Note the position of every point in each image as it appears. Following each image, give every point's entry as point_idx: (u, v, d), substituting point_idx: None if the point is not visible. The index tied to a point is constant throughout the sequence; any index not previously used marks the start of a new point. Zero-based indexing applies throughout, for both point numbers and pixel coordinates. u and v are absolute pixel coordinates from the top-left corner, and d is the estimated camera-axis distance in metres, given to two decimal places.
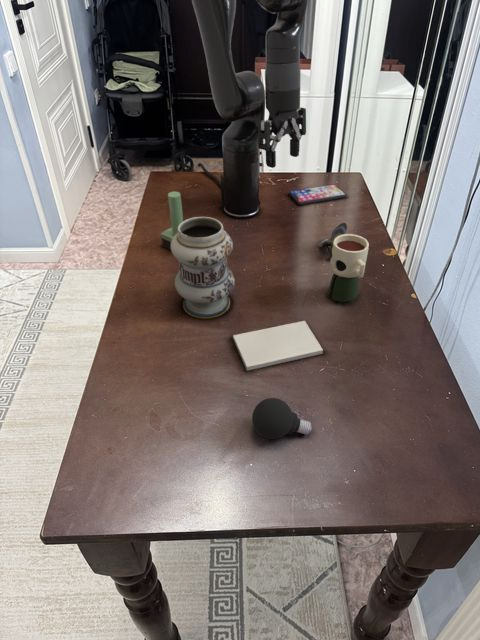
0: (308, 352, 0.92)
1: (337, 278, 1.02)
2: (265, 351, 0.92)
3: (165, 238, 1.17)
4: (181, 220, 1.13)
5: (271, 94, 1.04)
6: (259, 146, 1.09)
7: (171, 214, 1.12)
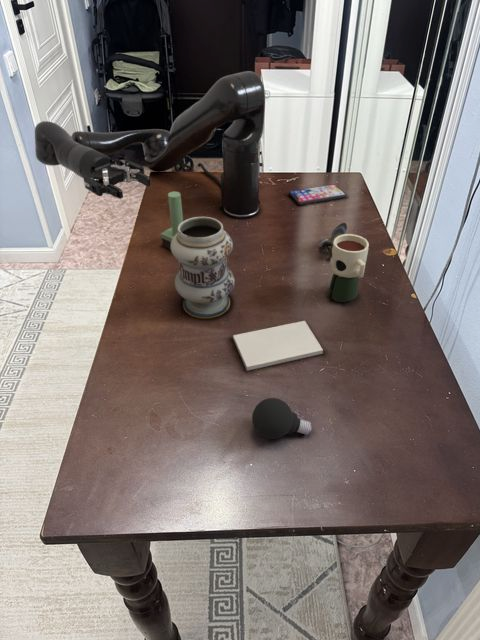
0: (308, 352, 0.92)
1: (337, 278, 1.02)
2: (265, 351, 0.92)
3: (165, 238, 1.17)
4: (181, 220, 1.13)
5: (81, 171, 1.20)
6: (97, 194, 1.15)
7: (171, 214, 1.12)
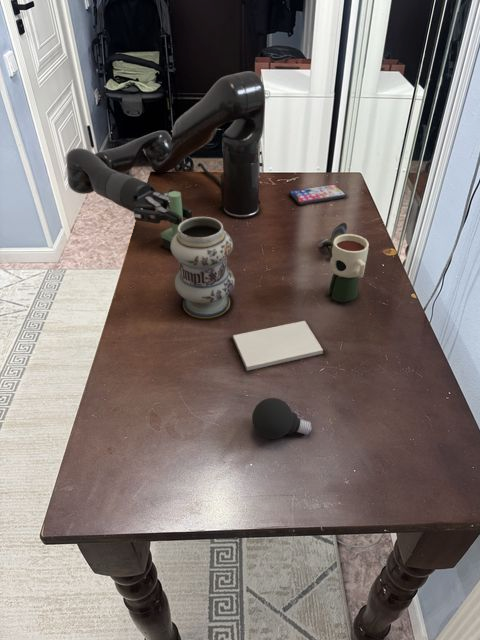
0: (308, 352, 0.92)
1: (337, 278, 1.02)
2: (265, 351, 0.92)
3: (165, 238, 1.17)
4: None
5: (122, 200, 1.16)
6: (156, 222, 1.12)
7: None
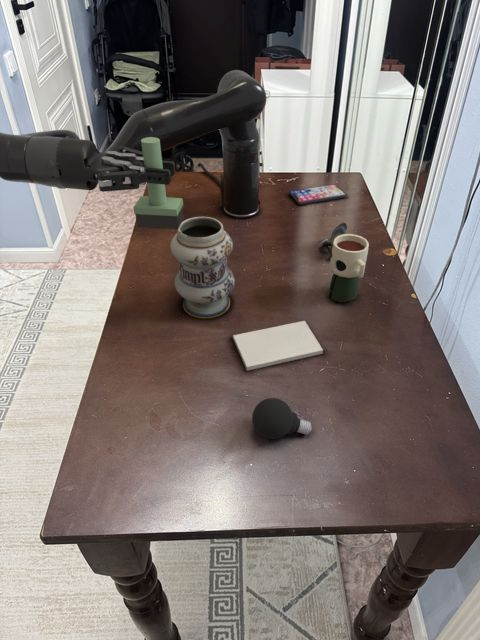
0: (308, 352, 0.92)
1: (337, 278, 1.02)
2: (265, 351, 0.92)
3: (142, 212, 0.81)
4: None
5: (62, 172, 0.75)
6: (135, 186, 0.76)
7: None
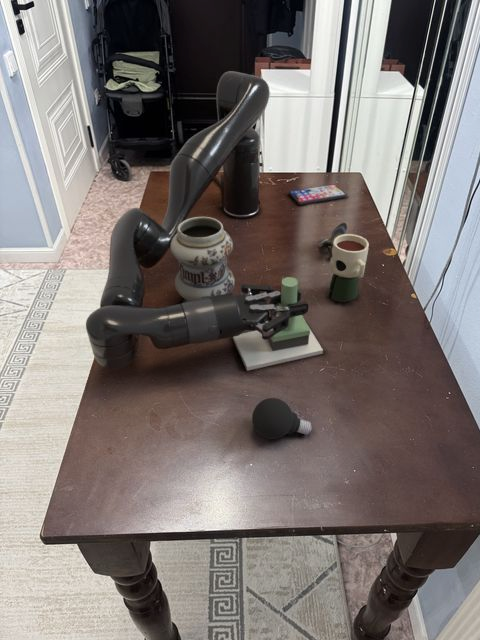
0: (308, 352, 0.92)
1: (337, 278, 1.02)
2: (265, 351, 0.92)
3: (280, 339, 0.90)
4: None
5: (222, 331, 0.82)
6: (287, 325, 0.85)
7: None
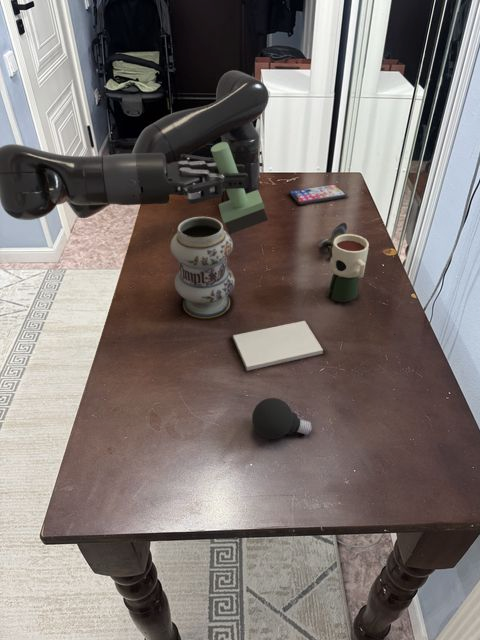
0: (308, 352, 0.92)
1: (337, 278, 1.02)
2: (265, 351, 0.92)
3: (231, 218, 0.82)
4: None
5: (144, 189, 0.74)
6: (220, 194, 0.76)
7: None
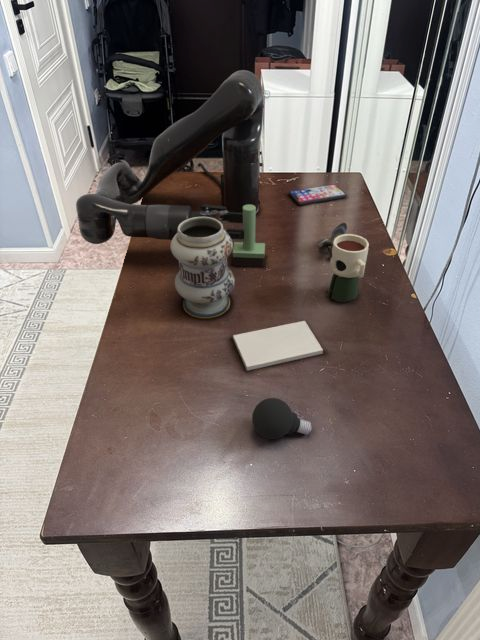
0: (308, 352, 0.92)
1: (337, 278, 1.02)
2: (265, 351, 0.92)
3: (239, 256, 1.12)
4: None
5: (172, 231, 1.06)
6: None
7: (248, 228, 1.08)
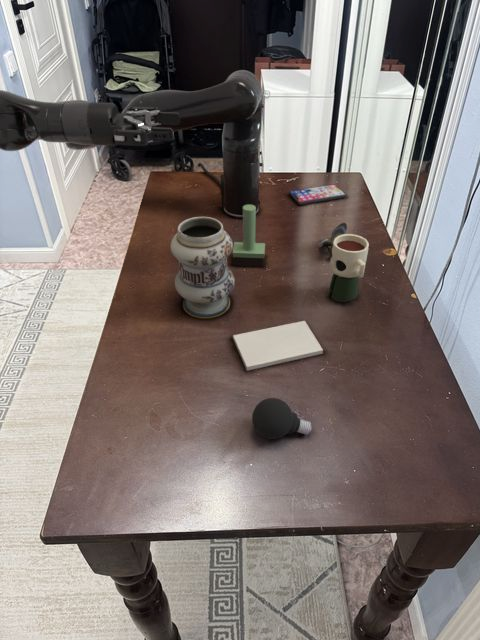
0: (308, 352, 0.92)
1: (337, 278, 1.02)
2: (265, 351, 0.92)
3: (239, 256, 1.12)
4: None
5: (92, 131, 0.92)
6: (143, 144, 0.90)
7: (248, 228, 1.08)
